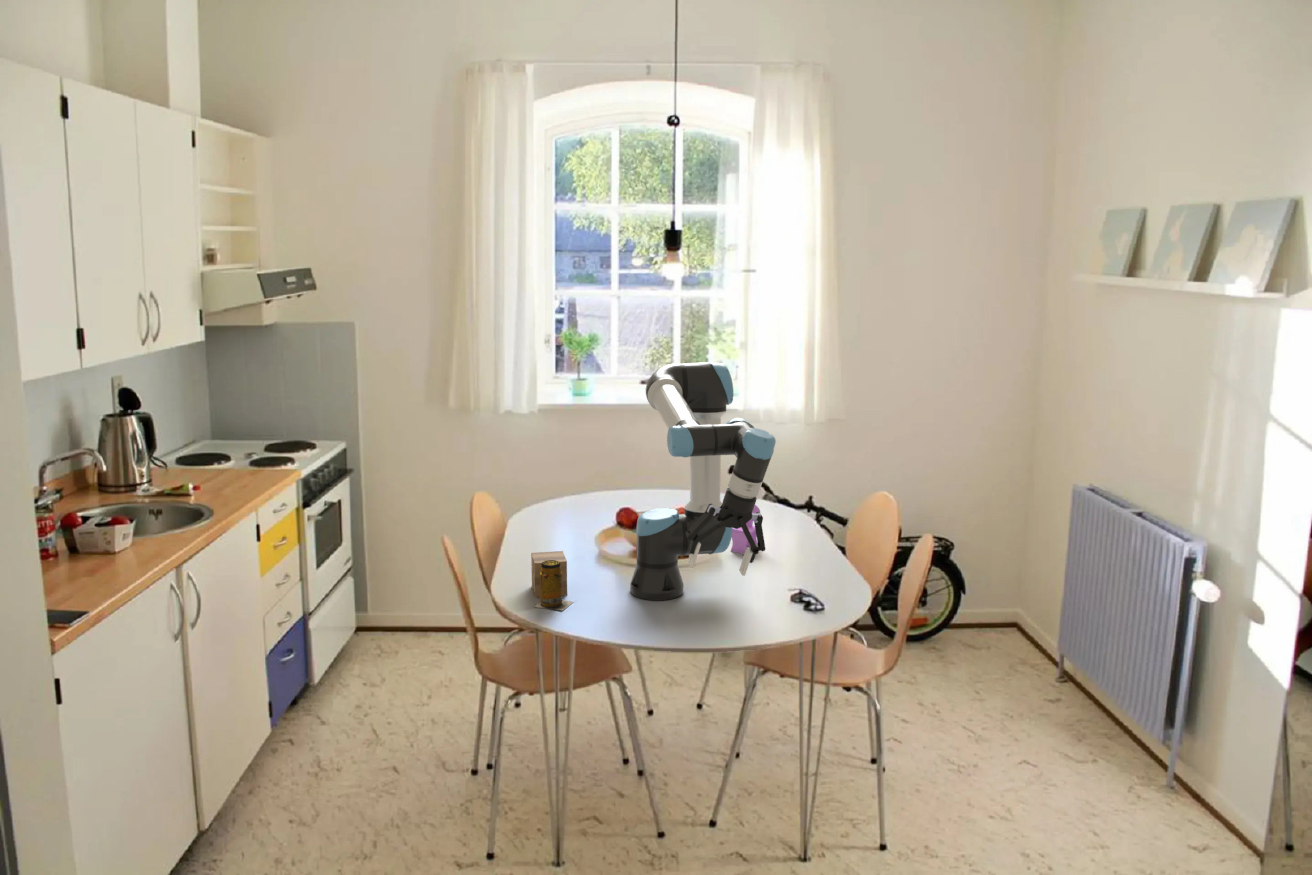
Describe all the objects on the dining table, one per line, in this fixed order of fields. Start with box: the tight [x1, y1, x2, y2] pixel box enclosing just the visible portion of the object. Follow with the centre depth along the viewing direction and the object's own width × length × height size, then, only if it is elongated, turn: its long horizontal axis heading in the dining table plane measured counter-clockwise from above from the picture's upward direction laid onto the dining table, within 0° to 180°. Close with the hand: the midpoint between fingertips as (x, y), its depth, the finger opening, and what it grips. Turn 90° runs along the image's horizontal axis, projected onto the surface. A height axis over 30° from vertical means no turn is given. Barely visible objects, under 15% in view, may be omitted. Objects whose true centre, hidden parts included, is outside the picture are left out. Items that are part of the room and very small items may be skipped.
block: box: [530, 550, 568, 598], centre depth 299 cm, size 9×9×10 cm
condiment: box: [534, 560, 574, 611], centre depth 288 cm, size 7×8×12 cm
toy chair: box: [730, 504, 761, 555], centre depth 336 cm, size 8×9×15 cm
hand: (716, 569), depth 259 cm, fingers open, 13 cm apart
